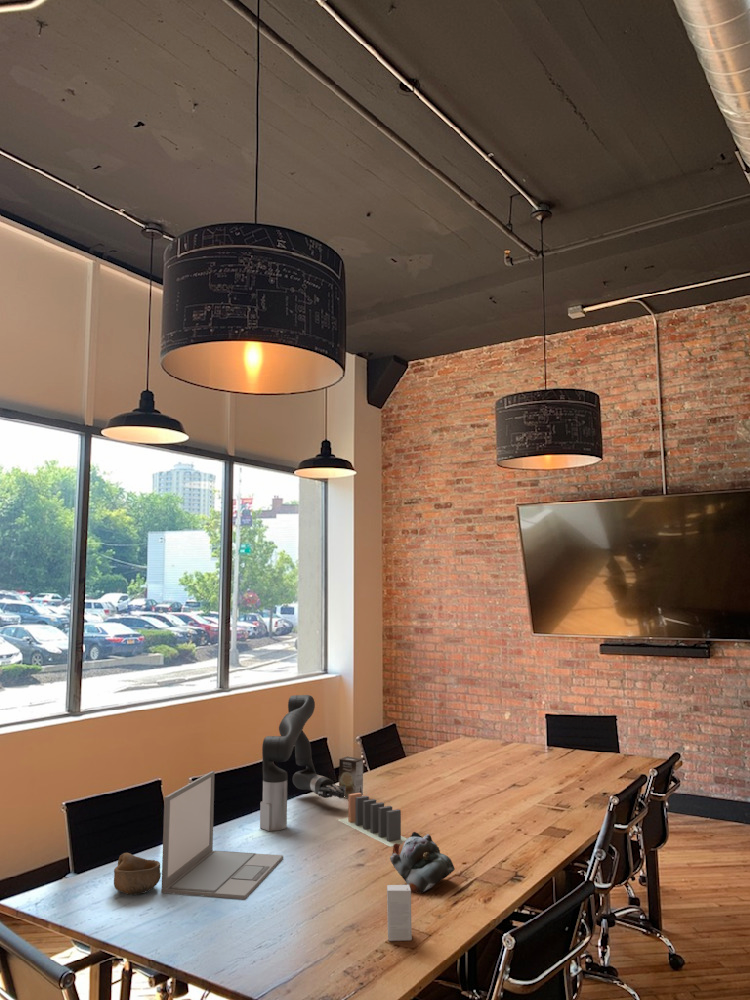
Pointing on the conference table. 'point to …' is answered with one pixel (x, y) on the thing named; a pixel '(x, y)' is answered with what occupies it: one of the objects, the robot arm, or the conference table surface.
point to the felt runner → (375, 835)
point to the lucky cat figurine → (420, 862)
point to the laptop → (204, 849)
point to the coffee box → (351, 775)
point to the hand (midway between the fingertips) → (342, 795)
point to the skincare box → (399, 912)
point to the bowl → (136, 874)
